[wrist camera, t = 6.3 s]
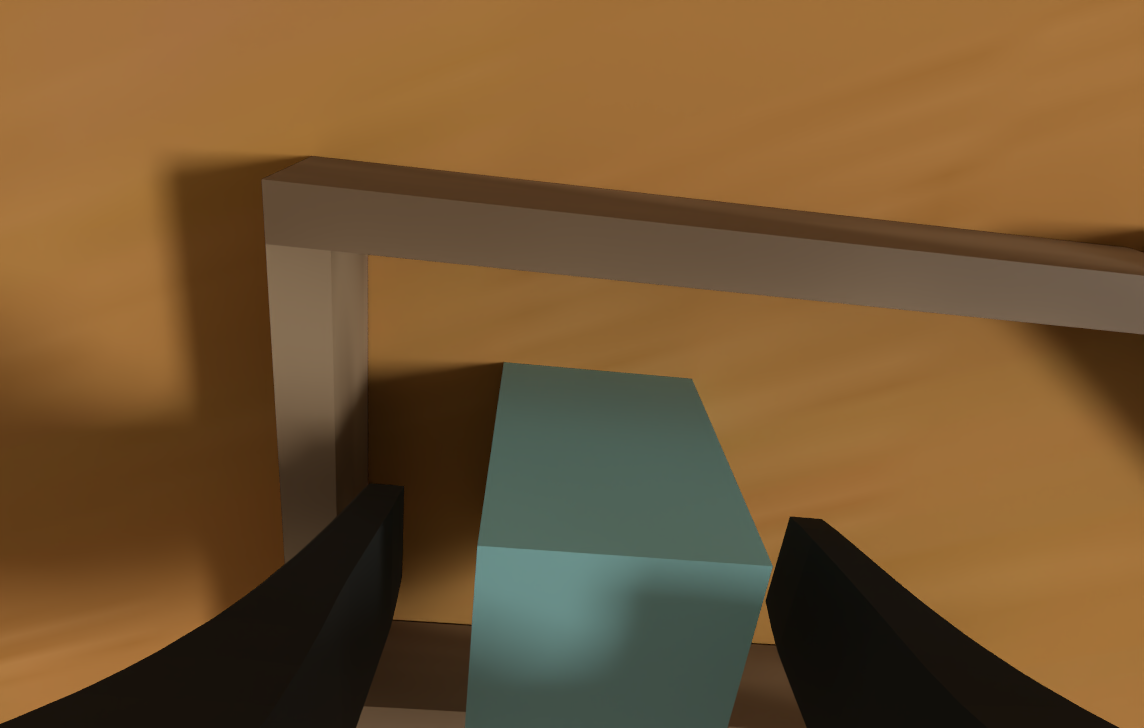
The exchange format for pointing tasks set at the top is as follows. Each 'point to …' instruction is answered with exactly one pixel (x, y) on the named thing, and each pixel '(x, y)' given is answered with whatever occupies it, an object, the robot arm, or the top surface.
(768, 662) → the bay
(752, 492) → the top surface
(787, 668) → the robot arm
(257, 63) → the top surface
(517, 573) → the teal block
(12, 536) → the top surface
